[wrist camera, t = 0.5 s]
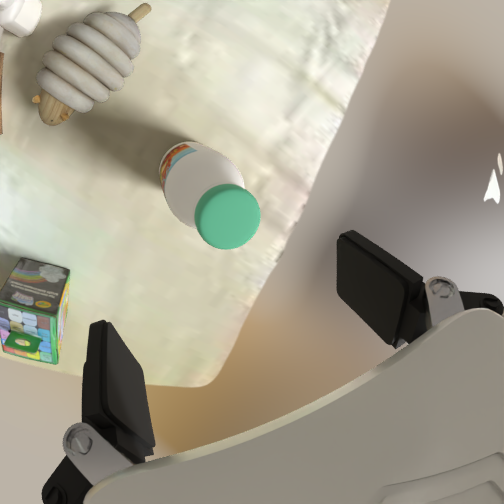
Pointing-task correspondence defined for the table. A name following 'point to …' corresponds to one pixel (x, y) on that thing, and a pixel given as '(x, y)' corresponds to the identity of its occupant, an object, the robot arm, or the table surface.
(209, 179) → the milk bottle
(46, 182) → the table surface
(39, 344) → the chalk box
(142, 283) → the table surface
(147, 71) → the table surface
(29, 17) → the eye dropper bottle
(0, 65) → the walnut socket block
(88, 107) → the toy sheep
